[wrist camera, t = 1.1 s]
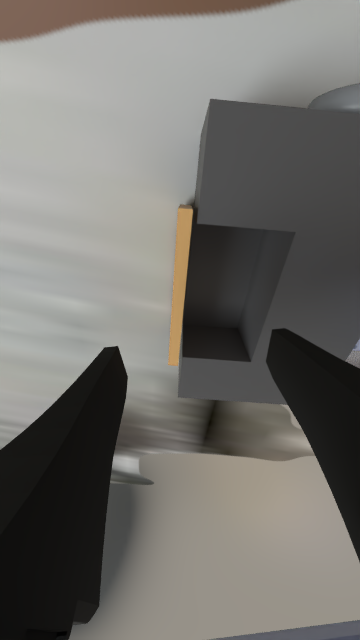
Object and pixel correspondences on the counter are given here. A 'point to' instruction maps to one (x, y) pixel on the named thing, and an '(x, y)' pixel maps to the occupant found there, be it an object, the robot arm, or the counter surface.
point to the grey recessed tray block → (271, 241)
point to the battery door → (179, 279)
